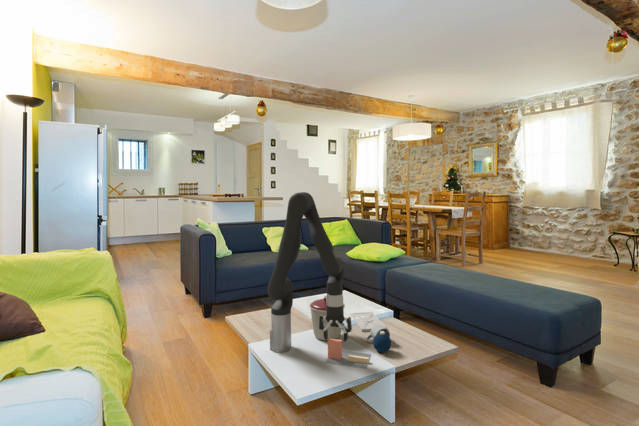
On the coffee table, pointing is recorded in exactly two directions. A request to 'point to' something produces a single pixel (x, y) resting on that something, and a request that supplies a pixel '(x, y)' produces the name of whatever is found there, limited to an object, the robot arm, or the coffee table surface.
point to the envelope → (366, 321)
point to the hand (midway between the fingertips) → (335, 339)
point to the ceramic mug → (377, 332)
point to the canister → (320, 309)
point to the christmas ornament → (382, 342)
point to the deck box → (334, 348)
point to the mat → (351, 359)
